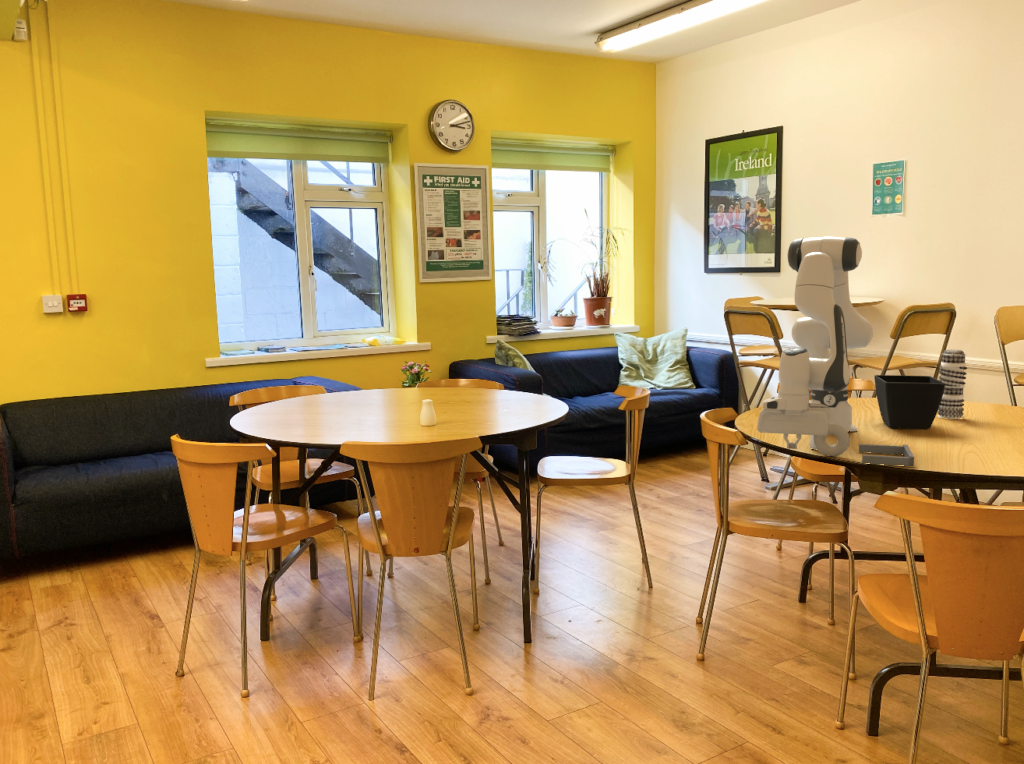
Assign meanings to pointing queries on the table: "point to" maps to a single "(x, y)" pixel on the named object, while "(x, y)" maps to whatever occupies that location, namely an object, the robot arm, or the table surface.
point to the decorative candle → (952, 384)
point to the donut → (839, 446)
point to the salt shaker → (812, 442)
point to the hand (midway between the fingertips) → (791, 448)
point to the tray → (887, 449)
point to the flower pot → (908, 400)
